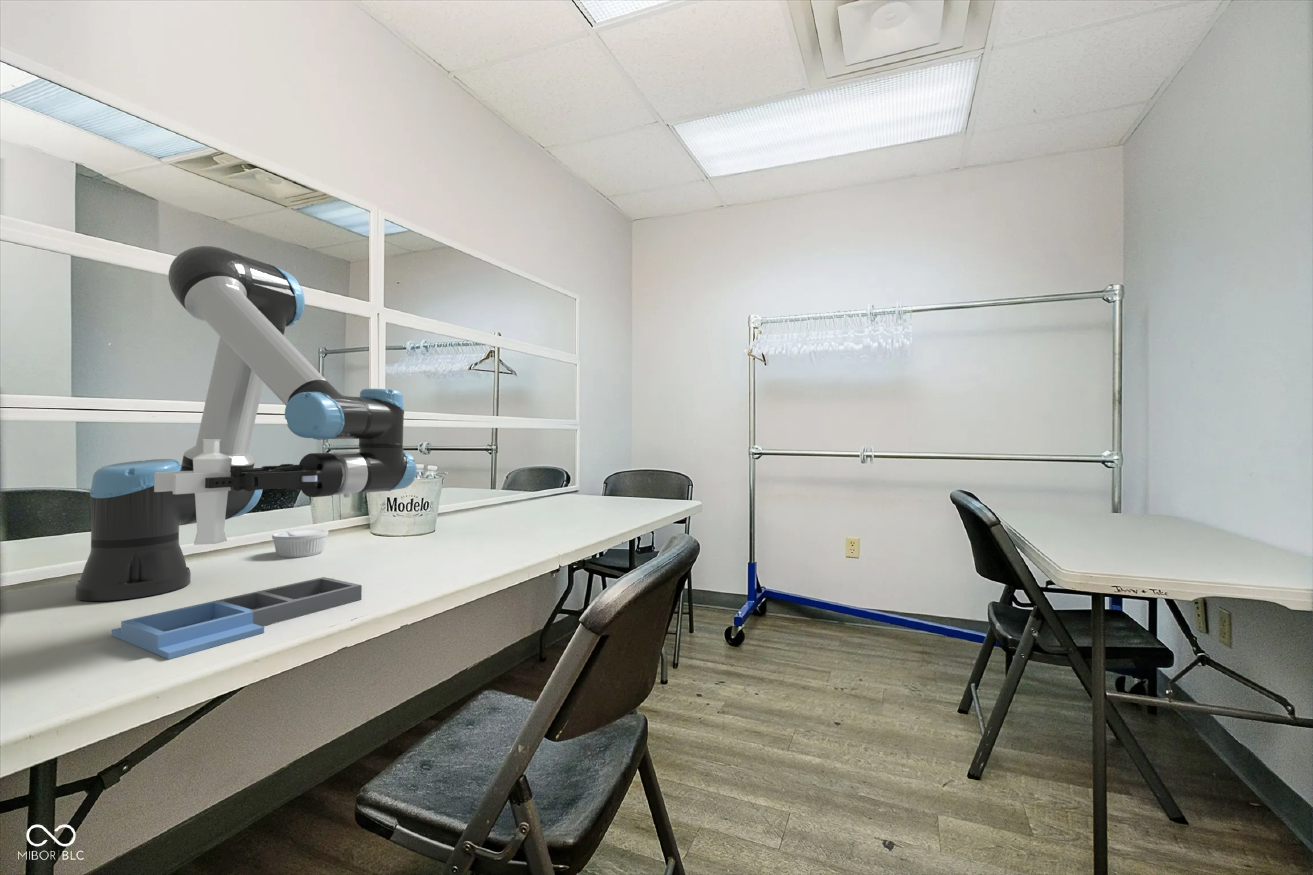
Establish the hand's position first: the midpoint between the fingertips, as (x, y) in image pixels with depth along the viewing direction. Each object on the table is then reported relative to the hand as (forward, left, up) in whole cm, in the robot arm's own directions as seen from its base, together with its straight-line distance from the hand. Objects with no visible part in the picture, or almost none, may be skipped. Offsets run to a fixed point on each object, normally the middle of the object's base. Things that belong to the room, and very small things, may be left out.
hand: (165, 483), depth 75 cm
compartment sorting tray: (+4, +11, -22) cm, 25 cm away
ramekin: (-20, +55, -22) cm, 63 cm away
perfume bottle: (+2, +5, -9) cm, 11 cm away
